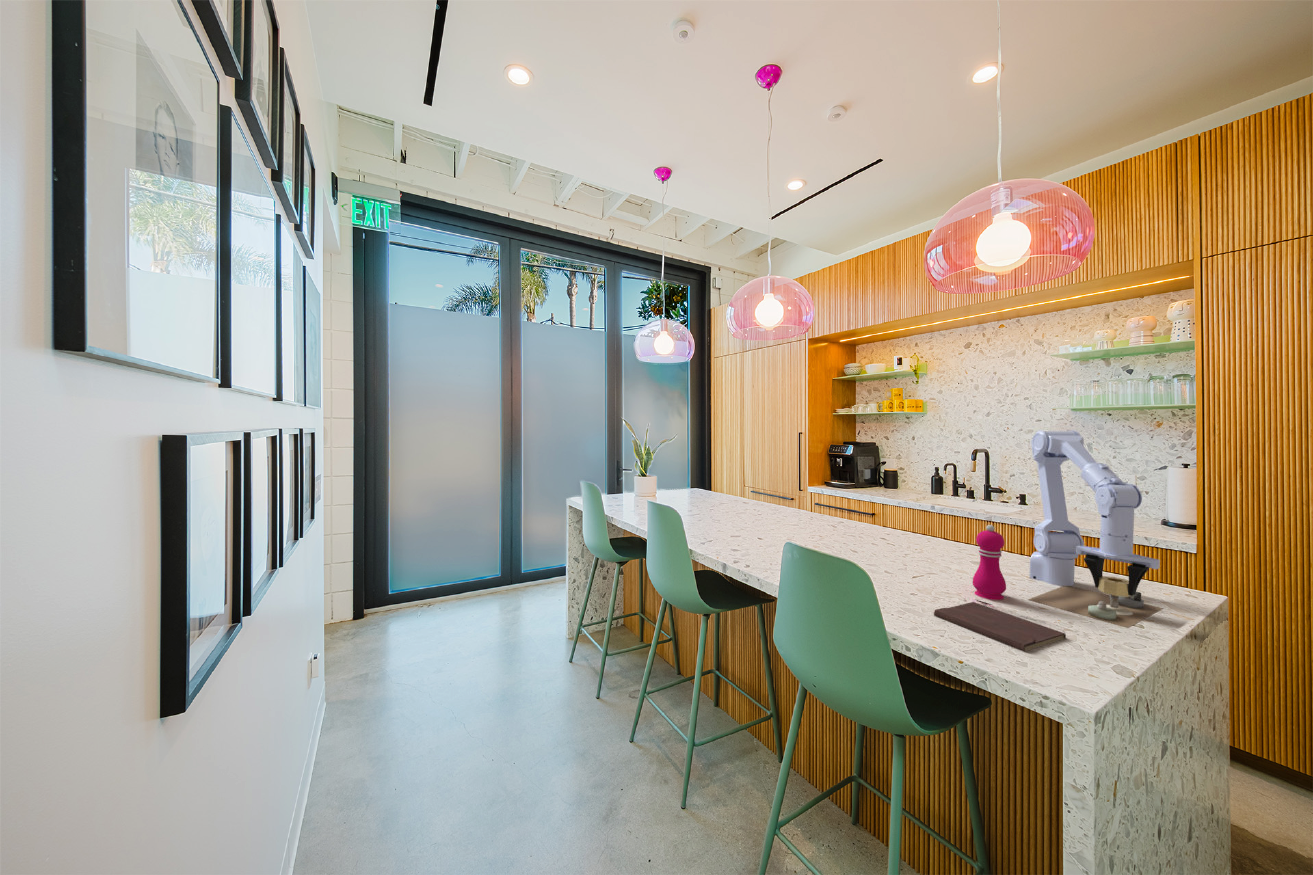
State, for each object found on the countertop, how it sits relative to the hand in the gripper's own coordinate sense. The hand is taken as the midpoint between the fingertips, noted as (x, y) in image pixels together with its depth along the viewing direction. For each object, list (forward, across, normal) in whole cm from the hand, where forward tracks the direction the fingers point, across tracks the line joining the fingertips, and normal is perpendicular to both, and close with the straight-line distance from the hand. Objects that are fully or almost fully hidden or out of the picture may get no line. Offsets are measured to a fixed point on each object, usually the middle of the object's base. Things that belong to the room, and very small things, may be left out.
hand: (1114, 590), depth 115 cm
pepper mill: (+6, -20, -16) cm, 26 cm away
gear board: (+6, -4, 0) cm, 7 cm away
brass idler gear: (0, 0, 0) cm, 0 cm away
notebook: (+7, -11, -31) cm, 33 cm away
